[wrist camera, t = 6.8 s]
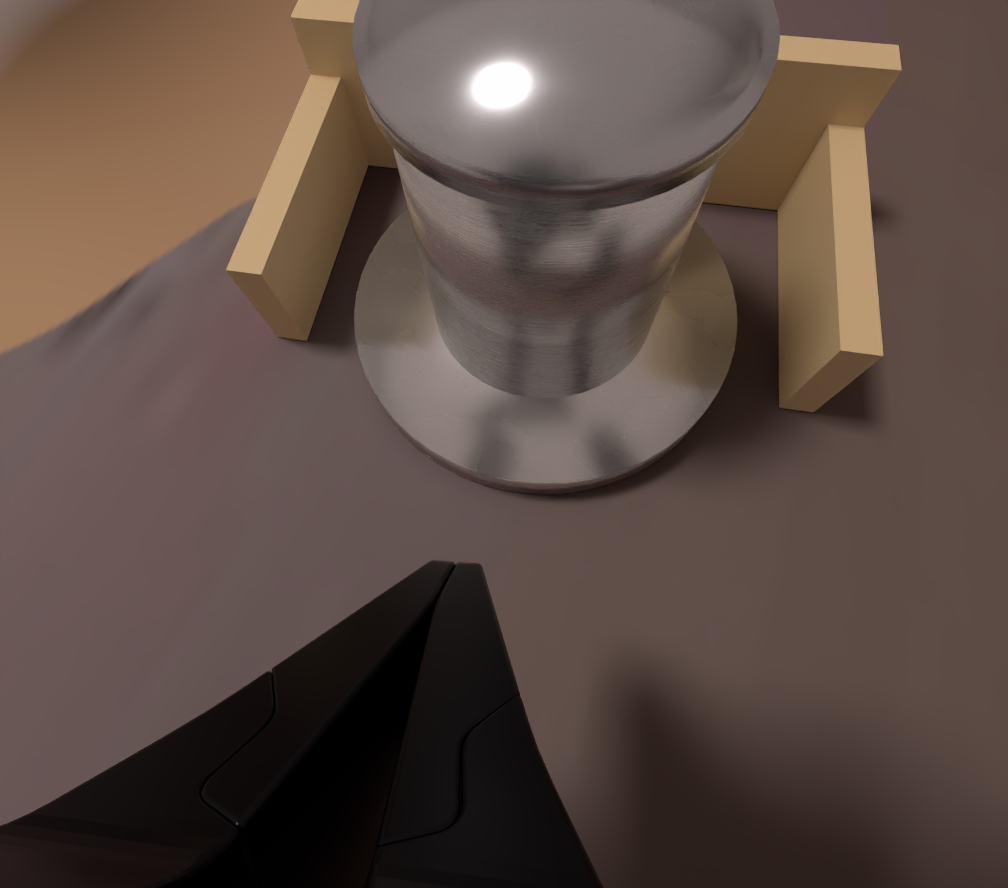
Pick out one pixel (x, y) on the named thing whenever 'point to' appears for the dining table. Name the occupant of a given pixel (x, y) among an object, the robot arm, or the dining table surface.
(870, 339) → the tan wooden u-frame
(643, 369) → the door knob
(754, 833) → the dining table surface
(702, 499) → the dining table surface
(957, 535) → the dining table surface
